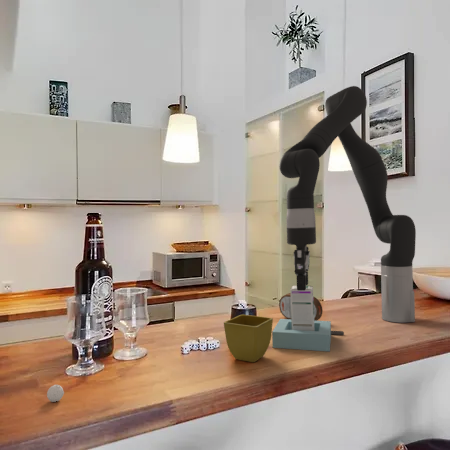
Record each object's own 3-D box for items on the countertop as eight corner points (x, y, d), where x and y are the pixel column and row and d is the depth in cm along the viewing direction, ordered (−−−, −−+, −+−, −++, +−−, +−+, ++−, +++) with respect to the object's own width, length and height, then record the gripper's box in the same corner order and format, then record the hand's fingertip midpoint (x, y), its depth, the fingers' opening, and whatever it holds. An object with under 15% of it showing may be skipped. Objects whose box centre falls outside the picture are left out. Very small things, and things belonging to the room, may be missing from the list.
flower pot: (257, 367, 87) (256, 326, 87) (223, 360, 92) (222, 321, 92) (274, 355, 95) (273, 317, 95) (242, 350, 99) (241, 314, 99)
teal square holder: (331, 335, 110) (330, 321, 110) (329, 351, 97) (329, 335, 97) (280, 332, 114) (280, 318, 114) (272, 347, 101) (272, 331, 101)
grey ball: (45, 400, 73) (45, 384, 73) (62, 396, 74) (62, 380, 74) (49, 406, 70) (48, 390, 70) (66, 401, 72) (66, 385, 72)
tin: (323, 323, 124) (322, 296, 124) (318, 325, 122) (317, 297, 122) (283, 316, 135) (282, 291, 135) (277, 318, 132) (277, 292, 132)
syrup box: (314, 345, 102) (313, 288, 102) (291, 344, 103) (290, 288, 103) (314, 339, 108) (313, 285, 107) (292, 338, 109) (291, 284, 109)
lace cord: (344, 334, 111) (344, 330, 111) (344, 335, 110) (344, 331, 110) (276, 330, 117) (276, 327, 117) (275, 331, 116) (275, 328, 116)
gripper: (314, 226, 97) (316, 292, 97) (316, 225, 111) (318, 283, 111) (283, 227, 99) (285, 292, 100) (289, 226, 113) (291, 283, 113)
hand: (302, 287), depth 105 cm, fingers open, 8 cm apart
